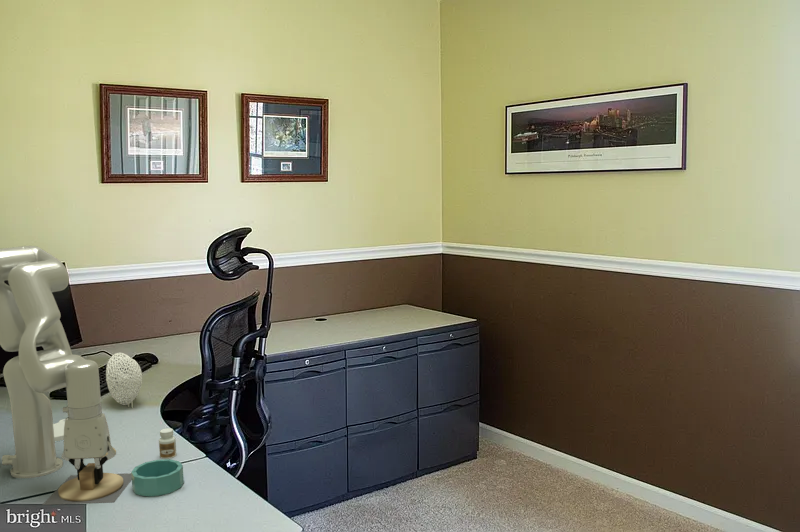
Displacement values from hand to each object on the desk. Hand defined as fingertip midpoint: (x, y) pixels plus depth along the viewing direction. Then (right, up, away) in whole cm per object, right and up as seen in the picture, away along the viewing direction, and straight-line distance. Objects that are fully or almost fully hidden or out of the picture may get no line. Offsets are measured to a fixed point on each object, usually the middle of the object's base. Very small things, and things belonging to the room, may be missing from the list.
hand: (90, 481), depth 187 cm
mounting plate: (-24, +2, +42) cm, 49 cm away
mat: (0, -2, 0) cm, 2 cm away
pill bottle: (+13, +1, +21) cm, 24 cm away
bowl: (+17, -2, +1) cm, 17 cm away
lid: (0, -2, 0) cm, 2 cm away
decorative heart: (-16, +6, +68) cm, 70 cm away
